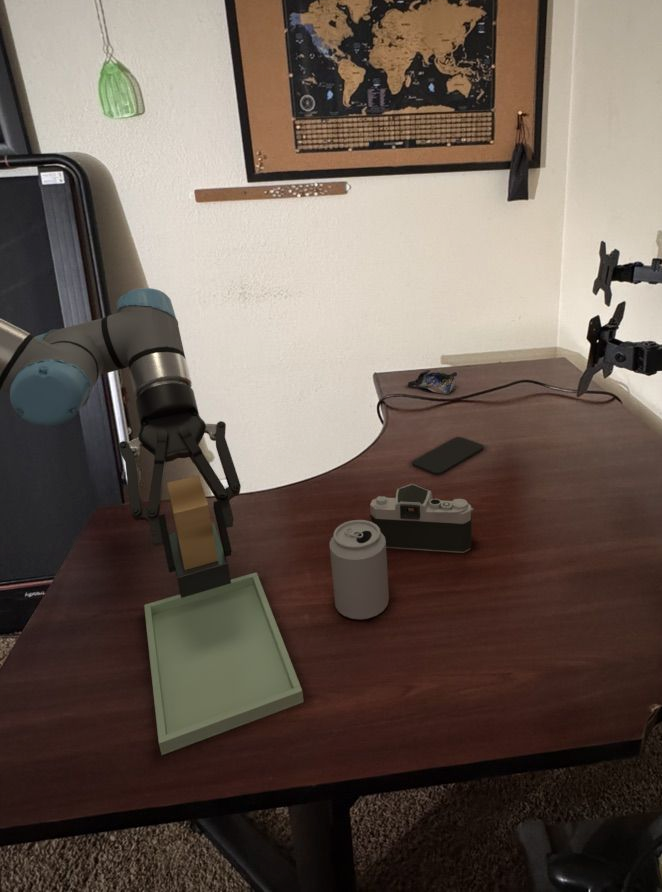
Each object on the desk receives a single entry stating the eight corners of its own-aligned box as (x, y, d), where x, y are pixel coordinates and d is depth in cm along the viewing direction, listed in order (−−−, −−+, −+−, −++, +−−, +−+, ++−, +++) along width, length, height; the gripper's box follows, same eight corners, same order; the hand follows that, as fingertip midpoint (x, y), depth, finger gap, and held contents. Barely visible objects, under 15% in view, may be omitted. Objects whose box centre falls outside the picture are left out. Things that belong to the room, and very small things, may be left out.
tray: (146, 616, 87) (144, 604, 86) (258, 583, 92) (256, 571, 92) (162, 757, 66) (158, 743, 66) (304, 704, 72) (302, 690, 71)
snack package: (415, 400, 156) (461, 393, 157) (413, 375, 154) (459, 368, 156) (405, 391, 167) (448, 385, 169) (403, 367, 166) (446, 361, 168)
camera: (474, 526, 103) (475, 472, 100) (472, 558, 95) (472, 501, 92) (379, 520, 106) (376, 468, 103) (369, 551, 98) (366, 496, 95)
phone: (409, 462, 123) (457, 435, 133) (409, 465, 124) (457, 439, 133) (438, 474, 118) (486, 445, 128) (438, 478, 119) (486, 449, 128)
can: (377, 629, 82) (373, 552, 78) (326, 617, 85) (318, 542, 81) (396, 593, 89) (393, 520, 85) (347, 583, 91) (342, 512, 87)
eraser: (172, 553, 84) (157, 481, 80) (217, 540, 86) (205, 470, 82) (181, 598, 75) (165, 519, 71) (231, 583, 77) (218, 506, 74)
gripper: (233, 392, 91) (273, 546, 83) (92, 419, 85) (121, 590, 76) (235, 368, 85) (279, 533, 77) (83, 395, 78) (113, 579, 70)
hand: (200, 561), depth 76 cm, fingers closed on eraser, 6 cm apart
